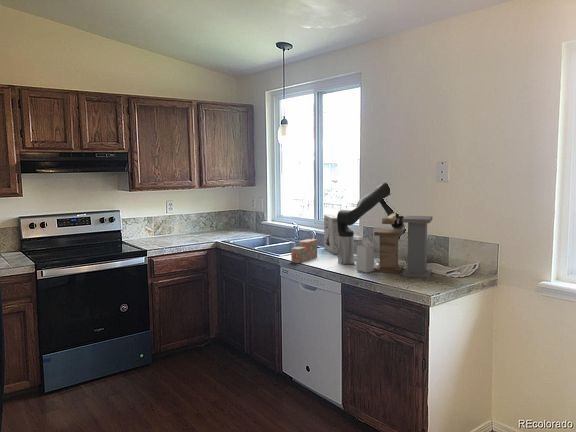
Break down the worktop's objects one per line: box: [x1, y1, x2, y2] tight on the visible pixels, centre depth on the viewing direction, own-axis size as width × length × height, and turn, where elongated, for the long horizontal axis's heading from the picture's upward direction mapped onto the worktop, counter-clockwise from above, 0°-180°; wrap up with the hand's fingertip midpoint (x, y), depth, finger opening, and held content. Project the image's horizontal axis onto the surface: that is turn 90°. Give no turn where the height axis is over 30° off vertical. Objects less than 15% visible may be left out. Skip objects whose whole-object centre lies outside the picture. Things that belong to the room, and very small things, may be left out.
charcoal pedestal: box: [401, 215, 433, 279], centre depth 256 cm, size 14×14×32 cm
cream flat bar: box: [381, 213, 397, 225], centre depth 273 cm, size 23×6×3 cm, turn 156°
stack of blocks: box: [290, 238, 318, 264], centre depth 302 cm, size 21×6×12 cm, turn 144°
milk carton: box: [356, 237, 375, 273], centre depth 268 cm, size 7×7×19 cm
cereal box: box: [323, 213, 339, 255], centre depth 327 cm, size 22×8×25 cm, turn 10°
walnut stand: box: [373, 228, 404, 274], centre depth 269 cm, size 14×14×23 cm
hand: (393, 214), depth 279 cm, fingers closed on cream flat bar, 3 cm apart
